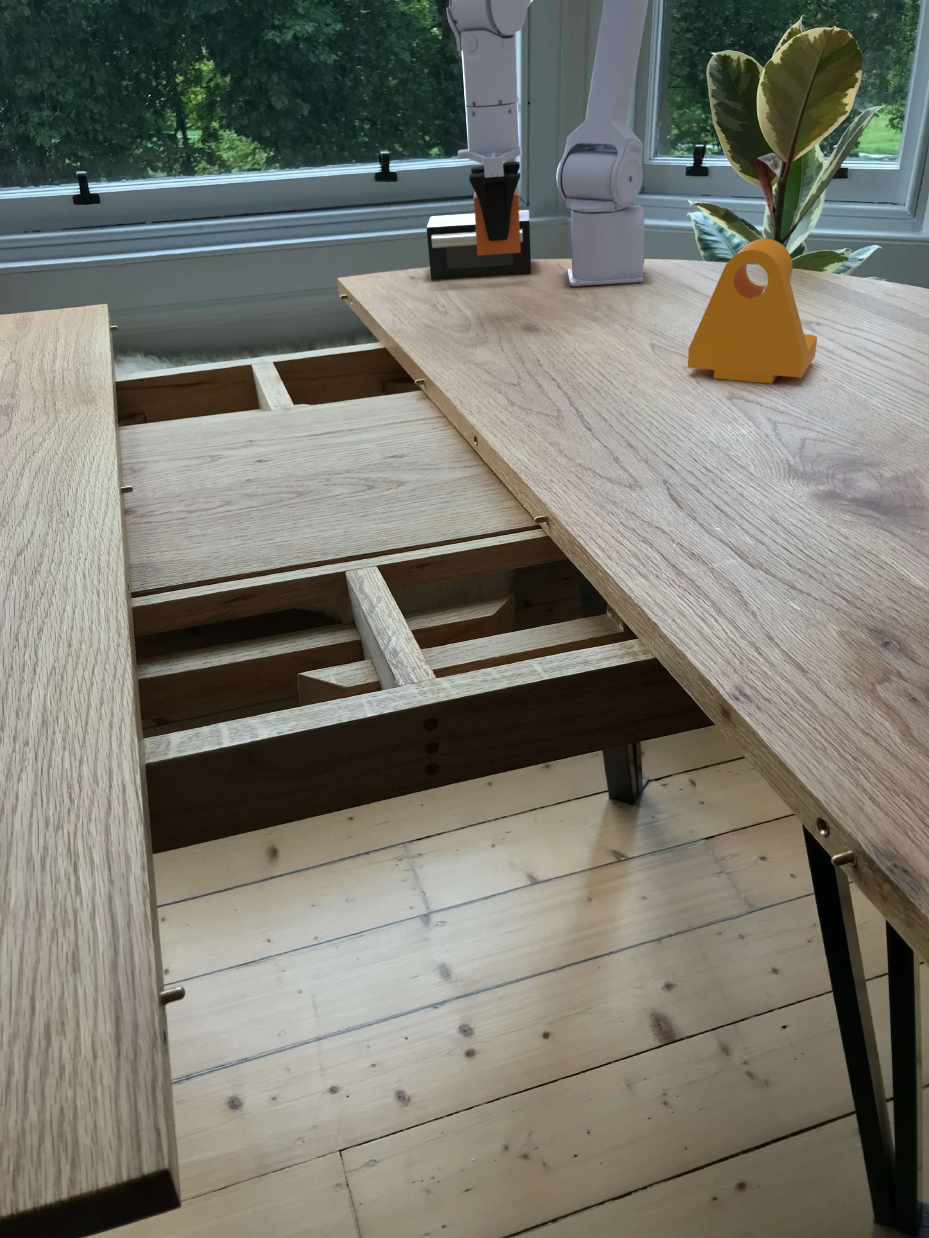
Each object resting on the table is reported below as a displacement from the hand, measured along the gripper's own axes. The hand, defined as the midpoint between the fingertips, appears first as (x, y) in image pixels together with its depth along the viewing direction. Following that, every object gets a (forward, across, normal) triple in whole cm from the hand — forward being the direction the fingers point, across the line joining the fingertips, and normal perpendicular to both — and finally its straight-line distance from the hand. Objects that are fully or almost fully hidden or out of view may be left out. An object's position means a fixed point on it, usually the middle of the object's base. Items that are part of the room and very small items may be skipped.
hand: (498, 235), depth 113 cm
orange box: (+2, 0, 0) cm, 2 cm away
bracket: (+10, +24, +25) cm, 36 cm away
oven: (+9, -22, -3) cm, 24 cm away
